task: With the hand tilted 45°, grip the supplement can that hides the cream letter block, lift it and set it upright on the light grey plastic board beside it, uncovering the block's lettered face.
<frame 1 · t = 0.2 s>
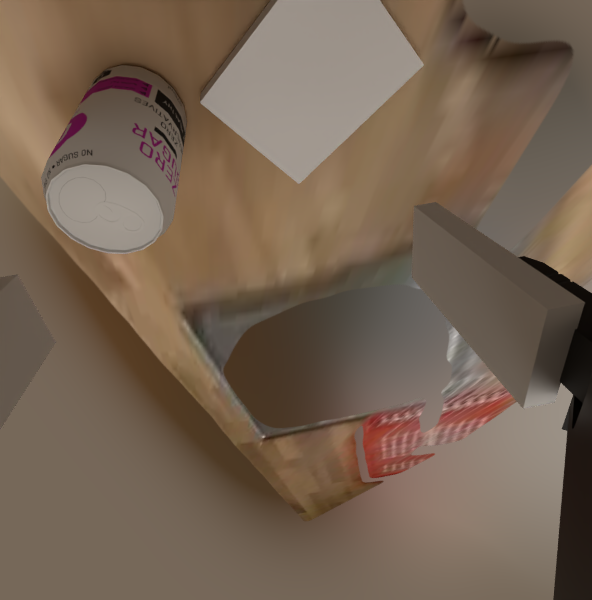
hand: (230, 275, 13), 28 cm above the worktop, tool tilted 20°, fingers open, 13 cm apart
grey board: (308, 75, 35), on the worktop
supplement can: (140, 111, 36), on the worktop
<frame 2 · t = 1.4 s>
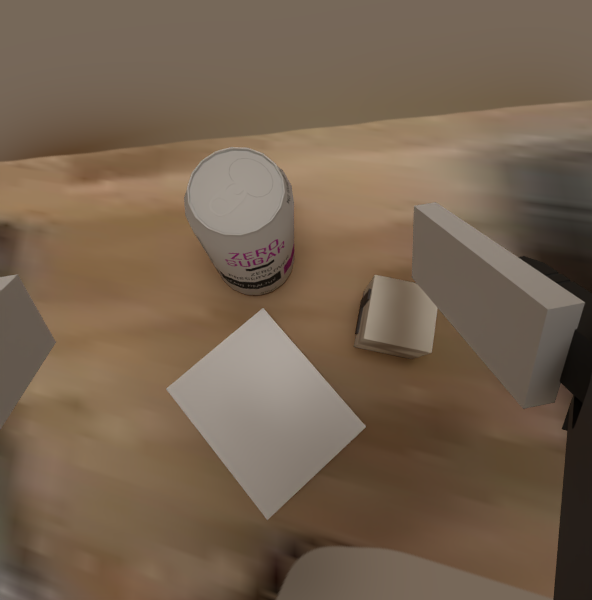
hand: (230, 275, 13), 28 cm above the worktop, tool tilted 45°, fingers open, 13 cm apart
grey board: (266, 407, 39), on the worktop
letter block: (387, 324, 41), on the worktop
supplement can: (256, 260, 43), on the worktop
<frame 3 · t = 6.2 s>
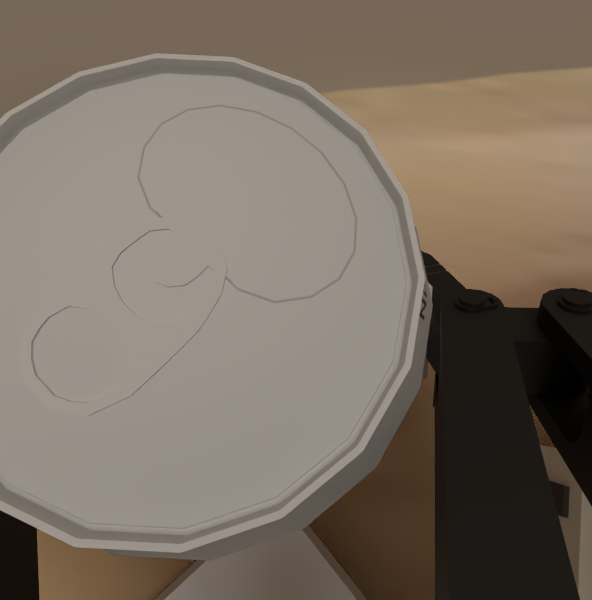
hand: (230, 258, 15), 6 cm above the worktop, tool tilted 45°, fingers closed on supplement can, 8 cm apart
letter block: (553, 517, 18), on the worktop
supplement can: (259, 362, 20), on the worktop, touching gripper
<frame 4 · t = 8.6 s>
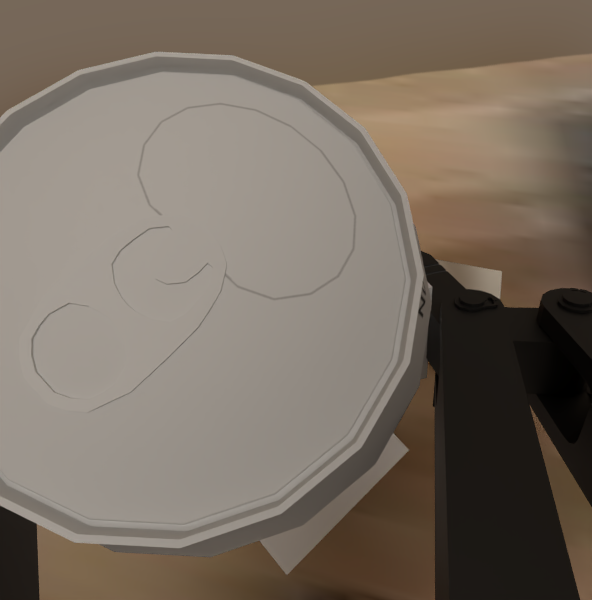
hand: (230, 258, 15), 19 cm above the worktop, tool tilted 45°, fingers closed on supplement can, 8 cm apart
grey board: (280, 426, 31), on the worktop
letter block: (427, 319, 33), on the worktop
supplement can: (259, 361, 20), point 12 cm above the worktop, touching gripper
when the fingers open (10 cm above the worktop, at t = 11.0 s): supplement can drops 1 cm, resting on grey board.
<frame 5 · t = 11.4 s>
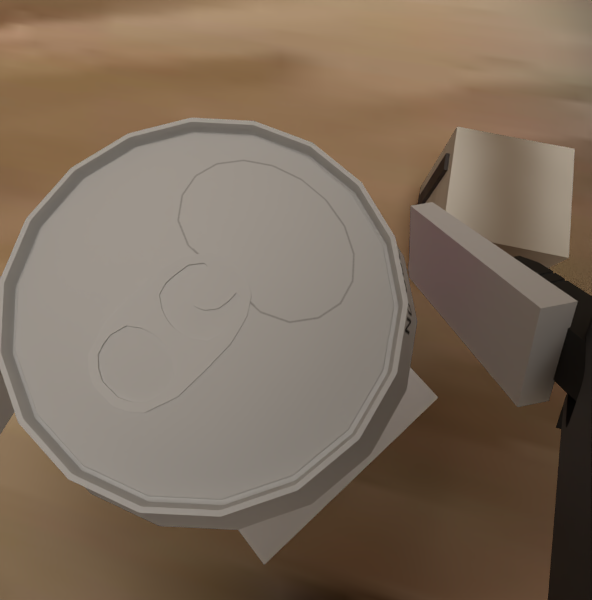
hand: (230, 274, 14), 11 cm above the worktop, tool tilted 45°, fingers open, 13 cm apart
grey board: (263, 366, 23), on the worktop
letter block: (460, 237, 25), on the worktop
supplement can: (263, 365, 21), point 2 cm above the worktop, touching grey board
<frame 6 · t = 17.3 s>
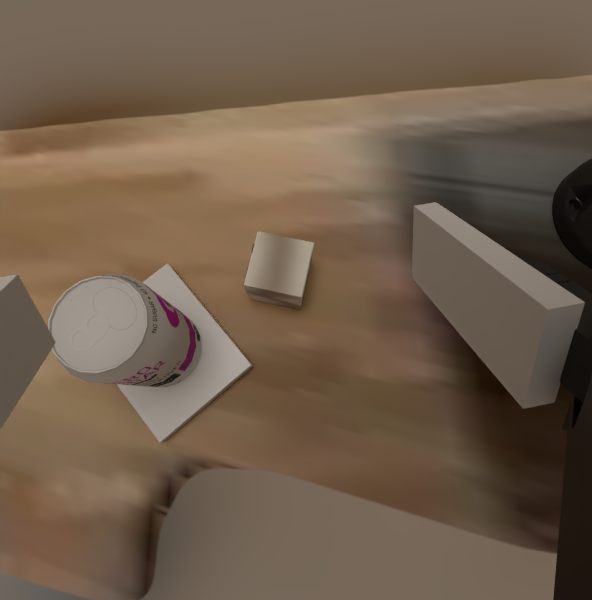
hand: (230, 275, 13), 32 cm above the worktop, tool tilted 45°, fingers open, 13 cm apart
grey board: (169, 350, 44), on the worktop
letter block: (281, 280, 46), on the worktop
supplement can: (165, 348, 43), point 2 cm above the worktop, touching grey board
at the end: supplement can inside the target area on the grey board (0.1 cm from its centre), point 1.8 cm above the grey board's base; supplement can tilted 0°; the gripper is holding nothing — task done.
